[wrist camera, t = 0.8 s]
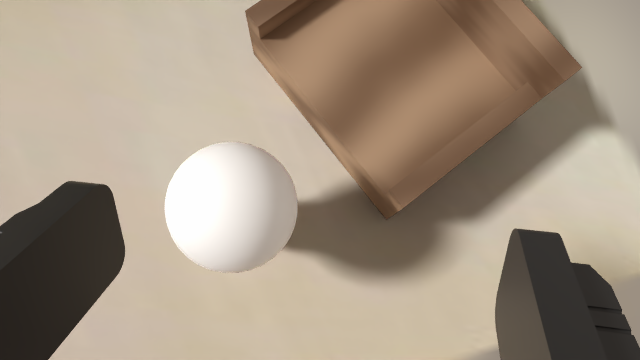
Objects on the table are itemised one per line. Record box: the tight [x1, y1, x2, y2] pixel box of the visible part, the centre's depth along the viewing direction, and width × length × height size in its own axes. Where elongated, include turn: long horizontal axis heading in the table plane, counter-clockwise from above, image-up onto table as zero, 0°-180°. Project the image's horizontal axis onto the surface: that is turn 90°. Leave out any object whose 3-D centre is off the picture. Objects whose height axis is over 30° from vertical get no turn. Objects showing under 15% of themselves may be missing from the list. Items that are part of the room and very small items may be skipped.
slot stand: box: [245, 0, 582, 220], centre depth 30 cm, size 14×11×8 cm
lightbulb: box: [165, 142, 298, 273], centre depth 26 cm, size 6×6×11 cm
